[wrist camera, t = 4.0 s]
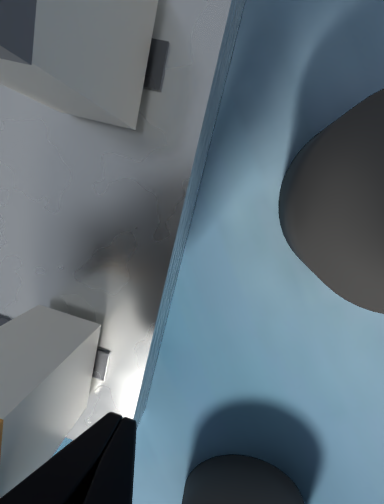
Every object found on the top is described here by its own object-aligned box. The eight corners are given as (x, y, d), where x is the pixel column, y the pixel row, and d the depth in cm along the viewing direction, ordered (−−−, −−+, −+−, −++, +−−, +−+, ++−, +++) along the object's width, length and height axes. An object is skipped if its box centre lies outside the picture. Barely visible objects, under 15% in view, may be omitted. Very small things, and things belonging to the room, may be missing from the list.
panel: (251, -24, 9) (257, -114, 6) (144, 410, 13) (122, 461, 10) (-108, -83, 10) (-223, -177, 7) (-94, 326, 14) (-163, 353, 12)
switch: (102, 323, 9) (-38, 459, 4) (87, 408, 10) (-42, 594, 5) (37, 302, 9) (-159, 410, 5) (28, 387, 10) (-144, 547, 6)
